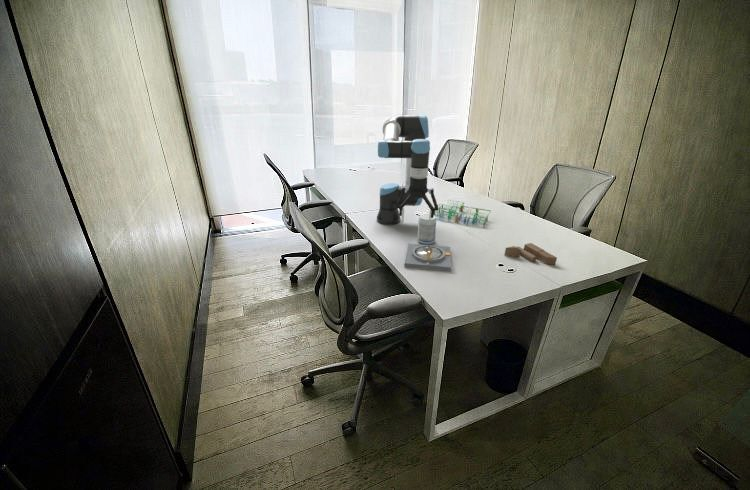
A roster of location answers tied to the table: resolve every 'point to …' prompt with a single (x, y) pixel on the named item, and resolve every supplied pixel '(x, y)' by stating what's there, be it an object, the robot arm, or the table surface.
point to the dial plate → (434, 264)
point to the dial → (428, 252)
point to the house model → (460, 214)
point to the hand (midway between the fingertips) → (415, 223)
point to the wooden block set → (531, 253)
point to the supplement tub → (426, 229)
